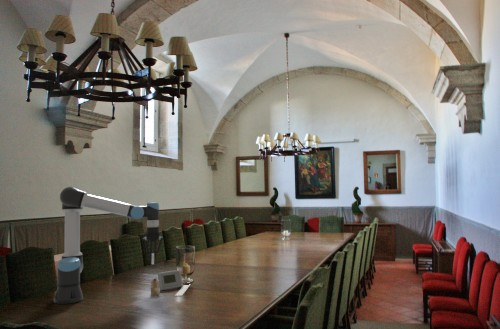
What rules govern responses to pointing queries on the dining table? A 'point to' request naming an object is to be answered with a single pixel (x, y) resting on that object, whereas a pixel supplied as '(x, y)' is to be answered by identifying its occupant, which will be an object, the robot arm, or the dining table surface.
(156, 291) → the tan wooden block
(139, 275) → the dining table surface
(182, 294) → the lath
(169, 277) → the digital clock
